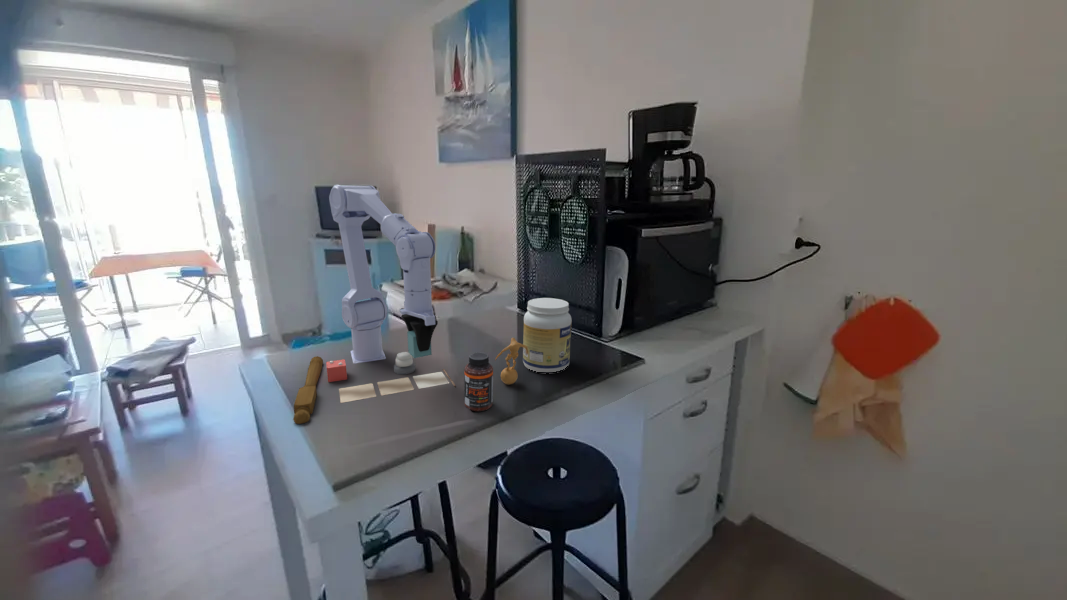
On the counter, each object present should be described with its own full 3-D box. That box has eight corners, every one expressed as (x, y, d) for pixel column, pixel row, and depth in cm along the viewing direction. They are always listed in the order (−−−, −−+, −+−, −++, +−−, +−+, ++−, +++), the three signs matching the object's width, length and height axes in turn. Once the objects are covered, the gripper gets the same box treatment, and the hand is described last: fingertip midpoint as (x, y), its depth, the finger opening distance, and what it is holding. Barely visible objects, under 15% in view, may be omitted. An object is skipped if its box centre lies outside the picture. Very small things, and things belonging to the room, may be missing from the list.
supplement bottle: (466, 414, 87) (465, 362, 84) (462, 400, 92) (461, 351, 89) (495, 410, 88) (495, 359, 85) (490, 397, 94) (490, 349, 91)
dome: (394, 361, 105) (393, 352, 105) (411, 359, 107) (410, 350, 107) (397, 367, 102) (396, 358, 101) (414, 365, 104) (413, 356, 103)
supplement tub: (566, 377, 104) (569, 310, 100) (517, 372, 107) (518, 306, 102) (571, 358, 116) (575, 298, 112) (528, 354, 118) (529, 294, 114)
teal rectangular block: (425, 349, 100) (424, 328, 99) (431, 354, 97) (430, 333, 95) (408, 352, 98) (407, 331, 96) (414, 358, 95) (413, 336, 93)
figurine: (520, 377, 104) (521, 330, 101) (532, 387, 99) (534, 338, 96) (489, 383, 100) (489, 335, 97) (500, 394, 95) (500, 343, 92)
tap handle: (323, 354, 108) (309, 412, 81) (324, 366, 108) (310, 426, 81) (309, 356, 107) (290, 414, 79) (310, 367, 107) (292, 429, 80)
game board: (333, 389, 96) (333, 386, 95) (444, 370, 107) (444, 368, 106) (336, 409, 87) (335, 407, 87) (455, 387, 98) (455, 385, 98)
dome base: (392, 369, 106) (392, 363, 106) (413, 366, 108) (412, 360, 108) (396, 377, 102) (395, 370, 101) (417, 374, 104) (416, 367, 104)
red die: (327, 377, 101) (326, 360, 100) (346, 374, 103) (344, 357, 102) (328, 384, 98) (326, 366, 97) (347, 381, 99) (345, 363, 98)
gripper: (389, 284, 97) (393, 340, 101) (410, 298, 86) (413, 361, 89) (419, 281, 101) (422, 335, 104) (443, 294, 89) (445, 355, 93)
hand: (420, 347), depth 97 cm, fingers closed on teal rectangular block, 4 cm apart
